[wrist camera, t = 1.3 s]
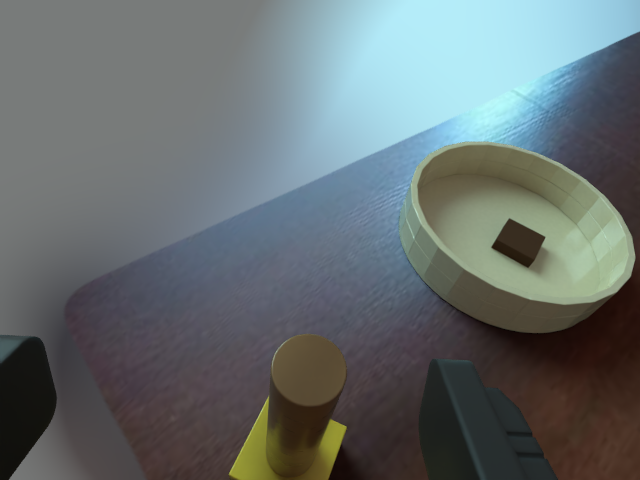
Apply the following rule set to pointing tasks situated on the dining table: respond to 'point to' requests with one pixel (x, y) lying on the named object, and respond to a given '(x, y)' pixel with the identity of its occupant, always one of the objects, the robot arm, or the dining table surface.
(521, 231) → the brown square block
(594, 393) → the dining table surface
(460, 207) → the pan
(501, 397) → the robot arm
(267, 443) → the sponge brush
